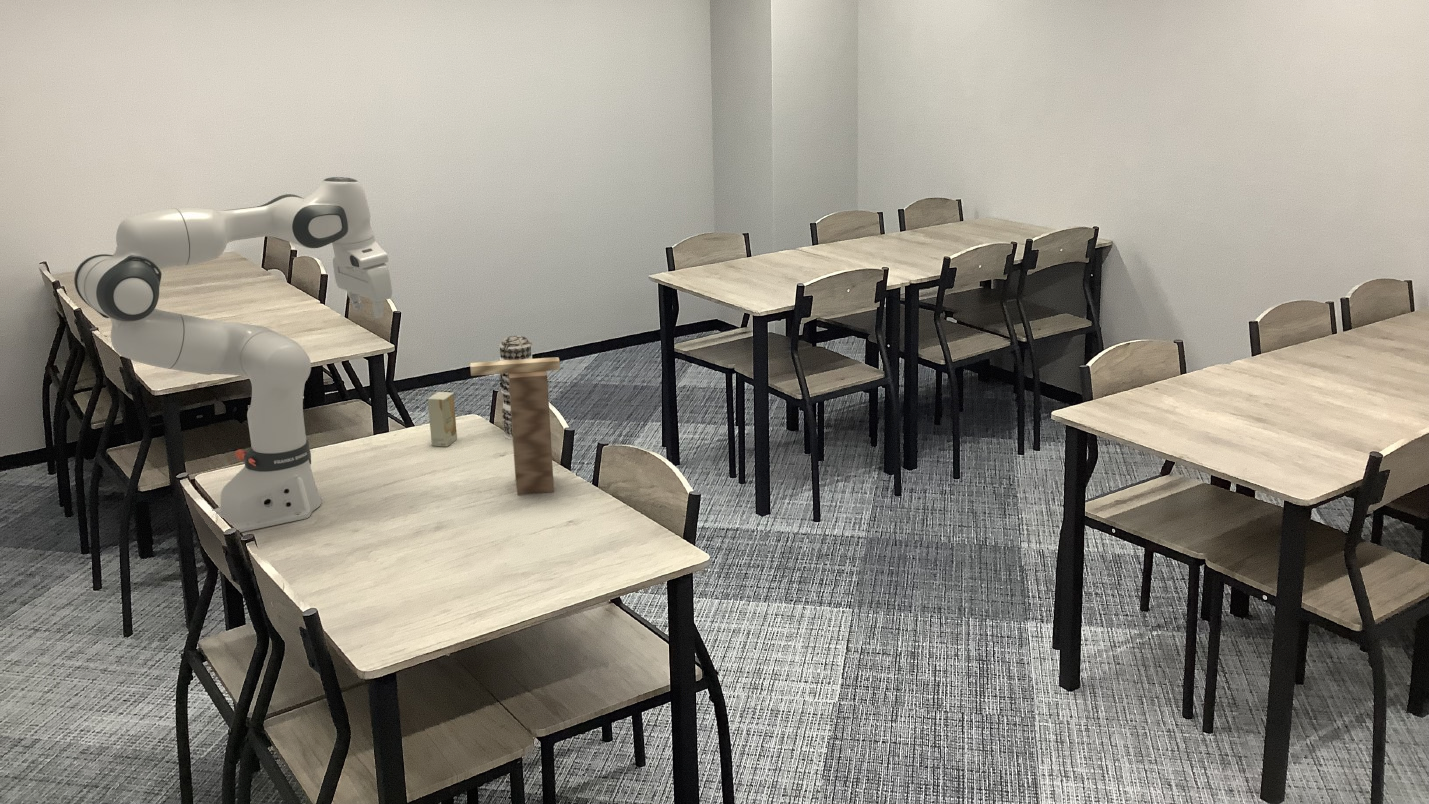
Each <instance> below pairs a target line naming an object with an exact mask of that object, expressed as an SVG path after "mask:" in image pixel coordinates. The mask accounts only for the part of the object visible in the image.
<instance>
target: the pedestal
mask: <svg viewBox="0 0 1429 804" xmlns="http://www.w3.org/2000/svg"><path fill="white" fill-rule="evenodd" d="M508 377H509V392H510V406H511V421H512V436H513V440H512V448H513V449H512V450H513V462H514V463H513V464H514V477H515V485H516V494H517V496H521V495H523V494H524V495H532V494H533V493H535V494H543V493H545V492H547V493H554V492H555V487H554V486H555V485H554V471H553V469H554V468H553V453H552V434H551V419H550V418H551V417H550V401H549V385H548V373H547V371H534V372H520V373H508ZM545 494H546V493H545ZM524 495H523V496H524ZM533 495H534V494H533Z"/></svg>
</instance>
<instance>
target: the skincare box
mask: <svg viewBox="0 0 1429 804" xmlns="http://www.w3.org/2000/svg"><path fill="white" fill-rule="evenodd" d="M427 403H428V405H427V406H428V415H429V417H428V418H429V429H430V439H431V440H430V441H431V446H434V447H445V448H446V447H448V446H450V445H452V444H453V443H454V442H455V441H456V440H458V434H457V433H458V432H457V423H456V422H457V421H456V420H457V419H456V410H455V409H456V407H455V395H454V392H447V391H437V392H436V393H434V394H432V395H431V396H429V398H427Z"/></svg>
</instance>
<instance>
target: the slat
mask: <svg viewBox="0 0 1429 804" xmlns="http://www.w3.org/2000/svg"><path fill="white" fill-rule="evenodd" d="M469 367H470V377H471V376H488V375H501V374H505V373H520V372H534V371H546V372H547V371H560V370H561V364H560V358H559V357H557V356H556V357H541V358H539V357H538V358H532V359H523V360H508V361H499V360H496V361H494V360H492V361H481V362H480V361H479V362H470V366H469Z"/></svg>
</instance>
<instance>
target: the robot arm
mask: <svg viewBox="0 0 1429 804" xmlns="http://www.w3.org/2000/svg"><path fill="white" fill-rule="evenodd" d="M370 221H371V213H370V209H369V203H368V200H367V197H366V193H365V190H364V188H363V186H362V184H361V182H360V181H358V180H357V179H355V178H351V177H345V176H344V177H342V176H333V177H332V176H331V177H327V178H325V179H323V180H322V182H321V184H320V185H319V186H318V187H317V188H316V190H314V191H313V192H312V193H311V194H310V195H308V196H307V197H305V198H303V197H301V196H300V195H297V194H291V193H290V194H287V193H285V194H282V195H278V196H276V197H275V198H273V199H272V200H269V201H268V202H266V203H264V204H262V205H259V206H253V207H243V208H241V207H240V208H234V209H226V210H219V209H212V208H204V207H176V208H175V207H174V208H165V209H158V210H153V211H149V212H143V213H140V214H135V215H132V216H129V217H126V218H124V219H123V220H122V221H121V222H120V223H119V225H118V227H117V229H116V235H115V242H116V249H115V251H114V253H113V254H107V253H102V254H96V255H92V256H90V257H88V258H86V259H84V260H82V262H81V263H80V264H79V265H78V267H77V268H76V270H75V272H74V278H73V281H74V287H75V290H76V293H77V295H78V296H79V298H80V299H81V300H82V301H83V302H84V303H85V304H86V305H87V306H89V307H90V308H92V309H93V310H94V311H95V312H96V313H97V314H99V315H100V316H102V318H104V319H109V320H110V321H111V330H110V342H111V345H112V346H111V347H112V348H113V350H114V351H115V352H116V354H118V355H120V356H121V357H123V358H125V359H129V360H131V361H134V362H138V363H141V364H144V365H148V366H152V367H156V368H163V369H167V370H174V371H180V372H187V373H194V374H199V375H200V374H201V375H205V376H211V375H228V376H229V375H230V376H238V377H242V378H246V379H249V380H250V383H251V400H250V406H249V408H248V410H247V413H246V417H247V423H248V431H249V438H250V445H251V446H250V448H249V449H248V450H247V452H246V450H243V449H241V448H240V449H237V450H236V452H235V458H237V459H238V460H240V461H243V463H244V467H242V468H241V470H239V472H238V473H236V474H235V476H233V478H231V479H230V481H228V482H227V483H226V485H224V486H223V488H222V490H221V493H220V507H219V506H218V507H217V508H214V509H213V510H214V511H215V512H216V513H217V514H219V516H221V517H222V518H224V519H225V520H226V521H227V522H228V523H229V524H230V525H232V526H233V527H234V528H236V529H237V530H239V531H240V532H239V533H243V532H248V531H254V530H257V529H263V528H267V527H271V526H277V525H281V524H287V523H291V522H296V521H300V520H305V519H307V518H309V517H310V516H311V515H312V513H313V512H314V511H315V510H316V509H318V508H319V507H320V506H321V505H322V504H323V498H322V497H321V495H320V492H319V491H318V488H317V484H316V482H315V478H314V474H313V470H312V466H311V464H312V453H311V452H312V451H311V447H310V443H309V440H308V439H307V436H306V427H305V419H304V409H303V407H304V403H303V402H304V391H305V384H306V381H308V378H309V377H310V374H311V371H312V362H311V359H310V356H309V355H308V353H307V352H306V351H305V349H304V348H303V347H302V346H301V344H300V343H298V342H297V341H296V340H294V339H292V338H289V337H287V336H286V335H283V334H281V333H279V332H276V331H275V330H272V329H270V328H268V327H267V326H262V325H256V324H248V323H240V322H233V321H232V322H231V321H222V320H215V319H210V318H209V319H208V318H203V317H199V316H198V317H197V316H193V315H188V314H181V313H176V312H170V311H166V310H161V309H158V308H156V307H157V305H158V302H159V298H160V286H161V281H162V280H161V279H162V271H161V270H163V269H167V268H173V267H182V266H192V265H197V264H202V263H206V262H209V261H212V260H216V259H219V258H220V257H221V256H222V255H223V253H224V252H225V250H226V248H227V245H228V244H229V243H231V242H235V241H241V240H249V239H254V238H255V239H256V238H263V237H271V238H274V239H277V240H279V241H282V242H283V241H284V242H288V243H291V244H295V245H296V246H297V245H298V246H301V247H303V248H307V249H320V248H323V247H325V246H327V245H331V244H332V249H333V253H334V256H333V259H332V266H333V274H334V279H335V283H336V285H337V287H338V288H339V289H342V290H344V291H346V293H347V296H348V298H349V300H350V301H351V305H352V308H353V310H355V311H362V310H364V302H363V301H362V300H361V297H363V298H366V299H369V300H370V302H371V304H372V308H373V309H371V314H372V317H373V318H375V319H381V318H383V317H384V311H383V309H384V301H386V300H389V299H391V298H392V295H393V289H392V279H391V275H390V270H389V266H388V265H387V263H389V257H388V256H389V255H388V253H387V252H386V251H385V250H383V248H382V247H381V246H380V244H378V241H376V237H375V234H374V231H373V230H372V227H371V222H370ZM360 296H361V297H360Z"/></svg>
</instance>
